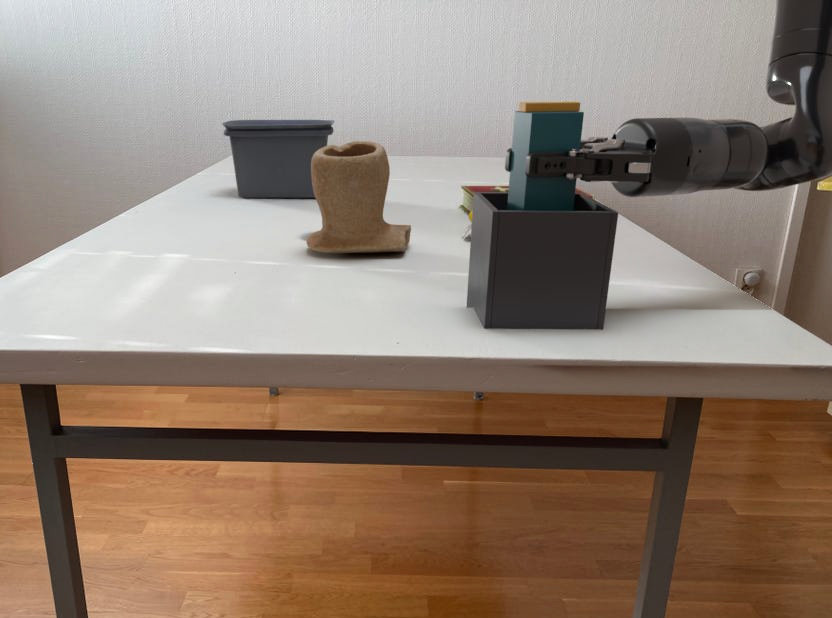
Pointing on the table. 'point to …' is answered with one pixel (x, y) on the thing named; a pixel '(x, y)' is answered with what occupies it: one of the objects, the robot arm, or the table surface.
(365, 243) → the stone cup
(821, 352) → the table surface
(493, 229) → the trash bin
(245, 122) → the storage bin
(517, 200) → the block
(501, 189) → the hardcover book
